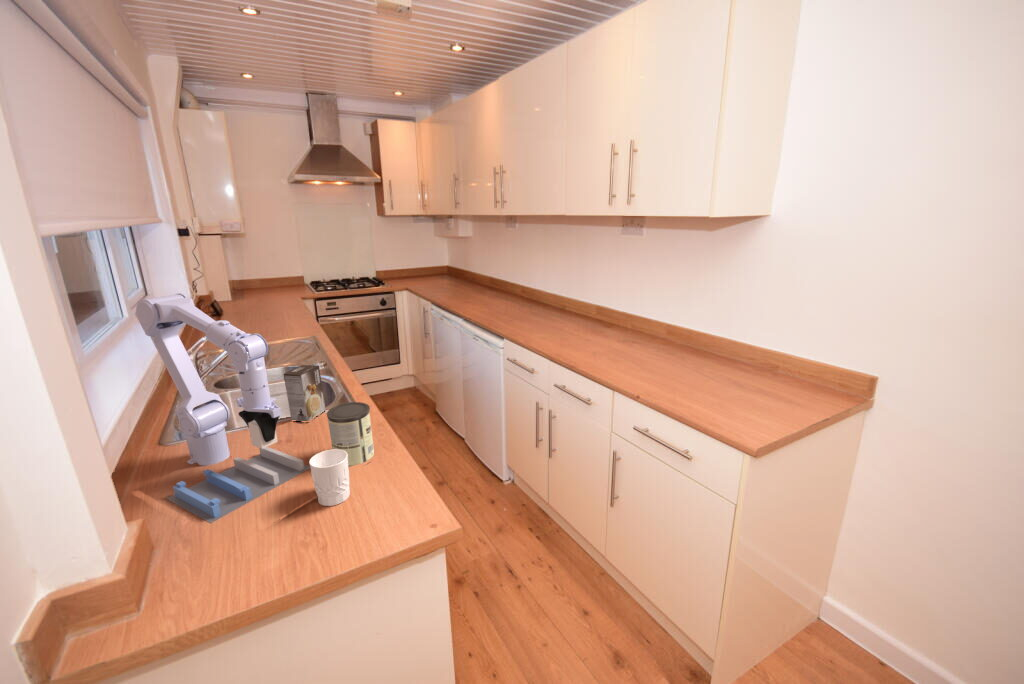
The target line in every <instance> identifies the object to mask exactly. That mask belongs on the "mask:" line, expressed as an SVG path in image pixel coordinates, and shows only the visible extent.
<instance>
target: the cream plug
mask: <svg viewBox="0 0 1024 684" xmlns="http://www.w3.org/2000/svg"><path fill="white" fill-rule="evenodd" d="M248 425H249V428H248V429H249V430H248V431H249V436H250V441H251V445H252V446H254V447H256V448H258V449H259V448H261V449H263V448H265V447H269V446H272V445H274V444H276V443H278V442H279V441H278V436H277V430H275V438H274V439H273V440H271V441H269V442H265V440H264V438H263V436H262V432H261V429H260V427H259V425H258V424H257V422H256V421H255V420H253V421H251V422H248Z"/></svg>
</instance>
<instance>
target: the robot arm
mask: <svg viewBox="0 0 1024 684" xmlns="http://www.w3.org/2000/svg"><path fill="white" fill-rule="evenodd" d="M134 315H135V316H136V318H137V320H138V323H139V324H140V326H141V328H142V330H143V332H144V334H145V335H146V336H148V337H150V339H151V341H152V343H153V345H154V347H155V349H156V351H157V352H158V355H159V357H160V359H161V360H162V362H163V364H164V366H165V368H166V369H167V372H168V374H169V376H170V377H171V380H172V381H173V383H174V385H175V387H176V389H177V391H178V393H179V395H180V397H181V399H182V401H181V402H180V404H179V405H178V407H177V409H176V410H175V414H176V416H177V419H178V425H179V427H180V430H181V431H182V432H183V434H185V435H187V436H186V444H187V449H188V452H189V457H190V459H189V460H186V461H187V462H186V463H187V464H189V465H193V464H195V463H197V464H198V465H199V466H212V465H216V464H218V463H219V464H220V463H222V462H224V461H225V460H227V459H228V458H229V457H230V456H231V452H230V447H229V442H228V438H227V433H226V428H225V427H226V426H228V423H227V422H228V421H229V419H230V418H231V411H230V408H229V406H228V405H227V404H226V402H224V401H223V400H222V398H221V396H220V394H218V393H215V392H212V391H207V388H206V387H205V385H204V383H203V381H202V379H201V378H200V375H199V373H198V370H197V369H196V368H195V365H194V363H193V361H192V359H191V358H190V355H189V353H188V352H187V349H186V348H185V346H184V344H183V342H182V340H181V338H180V336H179V333H180V331H181V329H183V328H184V327H185V326H186V324H187V325H188V326H190V327H192V328H194V329H197V330H198V331H201V332H203V333H204V334H205V338H206V340H207V341H208V342H210V343H212V344H213V345H215V346H216V347H218V348H220V349H222V350H224V351H225V352H226V353H227V356H228V358H229V359H230V361H231V362H232V365H233V368H234V369H235V371H236V372H237V375H238V381H239V386H240V392H241V397H239V398H237V399H236V406H237V407H238V408H242V409H243V410H241V411H239V412H238V416H239V417H240V418H241V419H242V420H243V421H244V423H245V424H246V426H247V427H248V428H247V429H249V425H248V422H251V421H253V420H255V421H256V422H257V424H258V425H259V427H260V429H261V432H262V436H263V438H264V440H265V442H269V441H271V440H273V439H274V438H275V430H276V429H277V424H278V421H279V419H280V416H282V414H283V413H282V408H281V406H278V405H277V404H276V403H275V402H276V397H272V396H271V392H270V385H269V381H268V374H267V370H266V362H265V357H266V356H267V354H268V352H269V345H268V341H267V340H266V339H265V338H264V336H262V335H261V334H260V333H247V332H245V331H244V330H241V329H239V328H238V327H236V326H234V325H232V324H231V322H230V321H228V320H215V319H213V318H212V317H210V316H209V315H208V314H206V313H205V312H204V311H203V310H201V309H199V308H198V307H197V306H195V303H194V301H193V298H191V297H188V296H187V295H186V294H184V293H179V292H178V293H175V294H171V295H166V296H160V297H159V296H158V297H153V298H142V299H139V300H138V301H137V304H136V308H135V313H134ZM201 405H202V406H201ZM198 406H199V407H198ZM195 407H197V408H195ZM194 408H195V409H194ZM276 431H277V430H276Z"/></svg>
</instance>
